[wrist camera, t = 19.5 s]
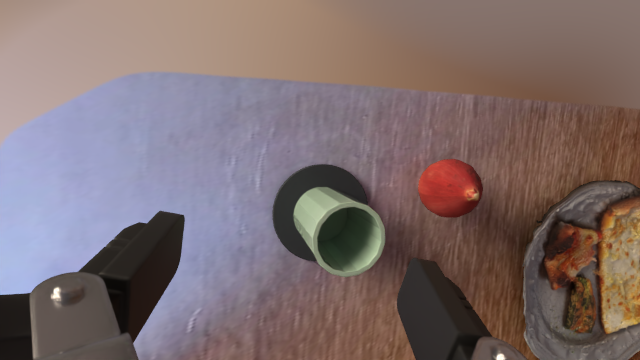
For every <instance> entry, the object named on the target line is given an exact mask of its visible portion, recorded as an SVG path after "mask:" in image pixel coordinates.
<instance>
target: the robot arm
mask: <svg viewBox="0 0 640 360" xmlns="http://www.w3.org/2000/svg"><path fill="white" fill-rule="evenodd" d="M184 221H185V219H184V215H180V214H175V213H170V212H164V211H159V212H158V213H157V214H156V215H155V216H154V217H153V218H152V219H151V220H150V221H149V222H148V223H147V224H146V223H140V222H139V223H136V224H134V225H132V226H129V227H127V228H125V229H123V230H122V231H121V232H120V233H119V234H118V235H117V236H116V237H115V239H114V240H112V241H111V242H109V243H108V244H107V246H106V247H104V248H103V249H102V250H101V251H100V252H99V253H98V254H97V255H96V256H94V257H93V258H92V259H91V260H90V261H89V262H88V263H87V264H86V265H85V266H84V267H83V268H82V269H81V270H79V271H78V272H72V273H65V274H61V275H57V276H54V277H52V278H49V279H47V280H45V281H43V282H42V283H40V284H39V285H38V286H36V287H35V288H34V290H33V291H32V292H31V293H27V294H12V295H0V360H138V357H137V354H136V351H135V348H134V345H133V342H134V341H135V339H136V337H137V336H138V334H139V332H140V331H141V329H142V328H143V326H144V324H145V323H146V321H147V319H148V318H149V316H150V314H151V313H152V311H153V309H154V308H155V306H156V305H157V303H158V301H159V300H160V298H161V296H162V295H163V293H164V291H165V290H166V288H167V286H168V285H169V283H170V282H171V280H172V278H173V277H174V275H175V273H176V271H177V268H178V265H179V262H180V257H181V249H182V240H183V231H184ZM472 308H473V307H472V306H471V304H470V303H469V301H467V300H466V297H465V296H464V294H463V293H462V291H461V290H460V288H459V287H458V286H457V285H455V284H454V283H453V282H452V281H451V280H450V279H449V278H447V277H445V276H444V274H443V273H442V271H441V269H440V268H439V266H438V265H437V263H436V262H434V261H430V260H424V259H419V258H413V259H412V260H411V261H410V263H409V266H408V268H407V271H406V274H405V277H404V279H403V282H402V285H401V288H400V290H399V293H398V298H397V309H398V312H399V315H400V318H401V321H402V323H403V326H404V329H405V331H406V334H407V337H408V339H409V342H410V345H411V348H412V350H413V353H414V356H415V358H416V360H527V359H526V357H525V356H524V355H523V354H522V353H521V352H520V351H518V350H517V349H516V348H515V347H513V346H512V345H510V344H508V343H507V342H505V341H503V340H500V339H498V338H494V337H492V335H491V334H490V332H489V331H488V330H487V328H486V327H485V325H484V324H483V322H482V321H481V319H480V318H479V316H478V315H477V313H476V312H475V310H473V309H472Z"/></svg>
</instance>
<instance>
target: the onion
mask: <svg viewBox="0 0 640 360" xmlns="http://www.w3.org/2000/svg"><path fill="white" fill-rule="evenodd" d="M418 191H419V195H420V199H421V201H422V203H423V204H424V205H425V206H426V208H427V209H428V210H430V211H431V212H433V213H435V214H437V215H439V216H441V217H460V216H462V215H464V214H467V213H469V212H471V211H472V210H473V209H474V208H475V207H476V206H477V205H478V203H479V201H480V199H481V196H482V191H483V187H482V183H481V178H480V177H479V175H478V174H477V173H476V171H475V170H474V168H473V167H472V166H470V165H468V164H466V163H464V162H462V161H460V160H456V159H446V160H441V161H438V162H436V163H434V164H431V165H430V166H429V167H428V168H427V169H426V170H425V171H424V172H423V174H422V176H421V178H420V180H419V187H418Z"/></svg>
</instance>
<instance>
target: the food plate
mask: <svg viewBox="0 0 640 360" xmlns="http://www.w3.org/2000/svg"><path fill="white" fill-rule="evenodd" d="M540 222H541V223H542V225H541V226H537V227H536V228H535V230H534V231H533V236H534V239H533V241H532V242H531V243H530V242H529V243H528V244H527V245H526V249H525V254H524V256H525V259H524V263H525V268H524V279H523V280H524V284H523V298H524V301H525V303H524V312H523V314H524V315H525V322H526V324H527V325H526V330H527V335H526V330H525V332H524V338H525V340H526V342H527V345H528V346H529V347H530V350H531V351H532V352H533V354H534V355H535V356H536V357H537V358H539V359H540V360H628V359H630V357H632V356H633V355H634V354H635V353H637V352H638V351H640V188H639V187H636V186H634V185H633V184H631V183H630V182H627V181H624V182H621V181H616V180H615V181H609V180H604V181H593V182H589V183H587V184H583V185H581V186H579V187H578V188H576V189H575V190H573V191H572V192H571V193H570V194H568V196H566V197H565V198H564V199H563V200H561V201H560V202H559V203H556V204H555V205H553V206H552V207H550V209H549V210H548V212H547V213H546V214H544V216H543V219H542V221H539V222H538V221H537V223H540ZM524 263H523V266H524Z"/></svg>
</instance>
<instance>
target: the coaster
mask: <svg viewBox="0 0 640 360" xmlns="http://www.w3.org/2000/svg"><path fill="white" fill-rule="evenodd" d="M316 187H329V188H332V189H335V190H338V191H340V192H342V193H344V194H346V195H348V196H350V197H352V198H354V199H356V200H358V201H360V202H362V203H364V204H366V205H368V202H367V198H366V194H365V192H364V190H363V188H362V186H361V184H360V183H359V182H358V180H357V179H356V178H355V177H354V176H353V175H351V174H350V173H349V172H347V171H345V170H344V169H341V168H339V167H336V166H332V165H325V164H321V165H312V166H309V167H305V168H303V169H301V170H299V171H297V172H296V173H294V174H293V175H292V176H290V177H289V178H288V179H287V180H286V181H285V182H284V184H283V185H282V186H281V188H280V190H279V191H278V193H277V196H276V198H275V201H274V205H273V223H274V228H275V231H276V233H277V235H278V238H279V239H280V241H281V242H282V244H283V245H284V246H285V247H286V248H287V249H288V250H289V251H290V252H291V253H293V254H295V255H296V256H298V257H300V258H303V259H306V260H311V261H317V260H316V259H315V257H314V256H313V254H312V252H311V251H310V249H309V248H308V246H307V245H306V243H305V242H304V240H303V239H302V237H301V236H300V234H299V232H298V230H297V229H296V226H295V223H294V209H295V206H296V204H297V202H298V200H299V199H300V197H301V196H302V195H303V194H304V193H306V192H307V191H309V190H311V189H313V188H316Z"/></svg>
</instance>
